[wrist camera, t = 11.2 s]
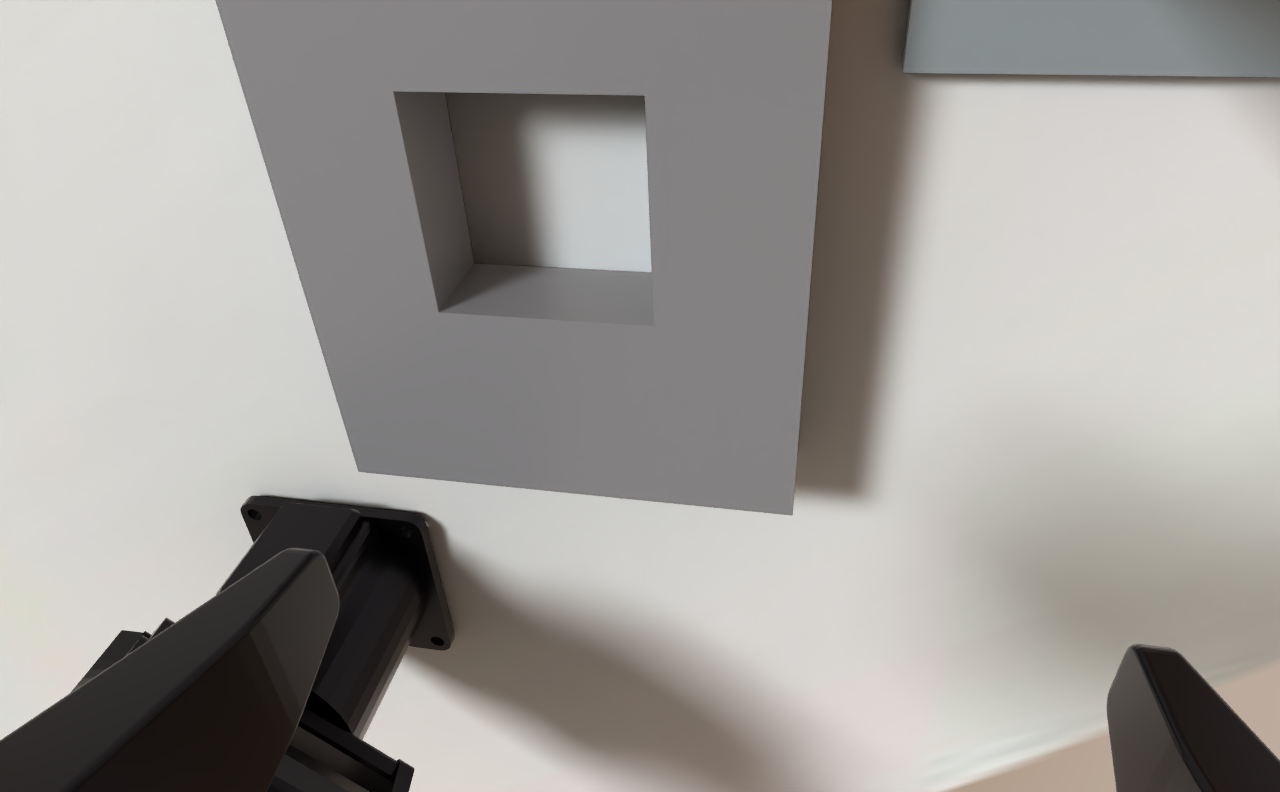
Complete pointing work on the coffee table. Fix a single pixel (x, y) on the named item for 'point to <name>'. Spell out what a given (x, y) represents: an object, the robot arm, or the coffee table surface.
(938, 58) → the mat
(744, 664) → the coffee table surface
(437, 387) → the holder
